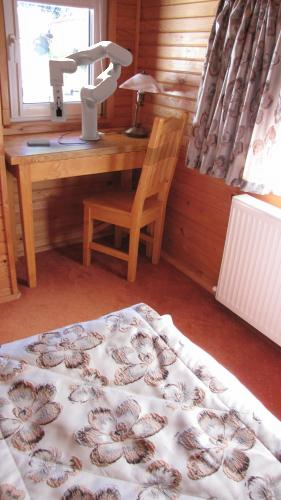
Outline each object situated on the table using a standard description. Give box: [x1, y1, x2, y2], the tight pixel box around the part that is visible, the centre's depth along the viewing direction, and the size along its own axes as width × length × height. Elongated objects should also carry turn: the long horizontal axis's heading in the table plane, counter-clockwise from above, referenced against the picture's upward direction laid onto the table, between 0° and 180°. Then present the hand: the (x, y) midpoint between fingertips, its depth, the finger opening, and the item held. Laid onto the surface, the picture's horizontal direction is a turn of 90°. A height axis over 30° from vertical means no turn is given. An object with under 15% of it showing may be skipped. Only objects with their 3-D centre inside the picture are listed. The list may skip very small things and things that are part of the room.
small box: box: [49, 101, 67, 123], centre depth 233 cm, size 8×6×10 cm
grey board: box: [27, 138, 51, 147], centre depth 231 cm, size 12×12×2 cm
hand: (58, 115), depth 234 cm, fingers closed on small box, 7 cm apart
